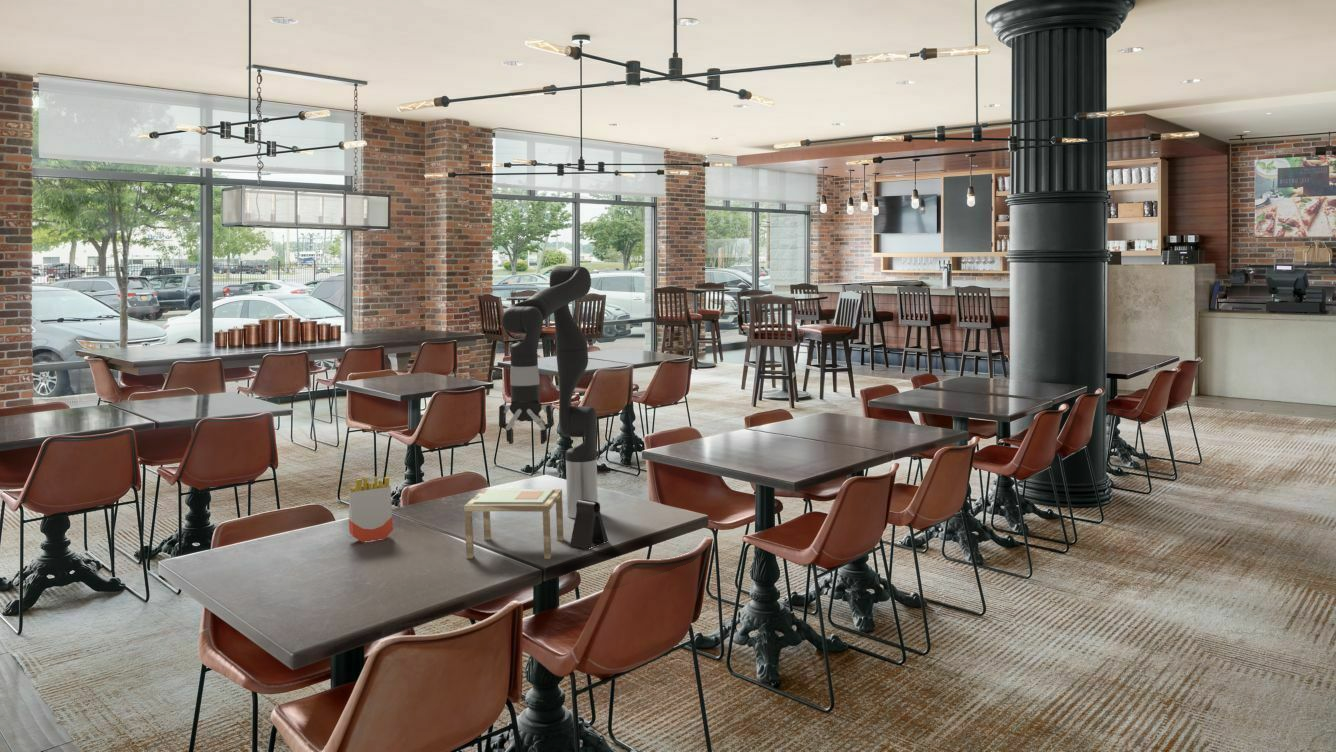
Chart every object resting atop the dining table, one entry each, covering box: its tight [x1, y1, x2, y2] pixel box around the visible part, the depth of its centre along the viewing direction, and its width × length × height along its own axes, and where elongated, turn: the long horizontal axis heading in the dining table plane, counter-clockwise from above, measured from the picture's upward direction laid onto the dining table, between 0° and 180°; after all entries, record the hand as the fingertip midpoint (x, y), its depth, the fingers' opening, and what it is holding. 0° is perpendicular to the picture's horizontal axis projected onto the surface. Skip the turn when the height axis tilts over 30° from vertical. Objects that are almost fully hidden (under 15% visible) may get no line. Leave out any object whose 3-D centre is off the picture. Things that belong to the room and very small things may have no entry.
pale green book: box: [474, 488, 553, 504], centre depth 251 cm, size 14×18×2 cm
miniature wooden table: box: [463, 488, 564, 560], centre depth 252 cm, size 18×22×14 cm
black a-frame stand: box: [569, 500, 609, 550], centre depth 254 cm, size 9×6×12 cm, turn 144°
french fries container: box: [348, 476, 394, 543], centre depth 262 cm, size 5×11×18 cm, turn 121°
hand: (527, 443), depth 249 cm, fingers open, 8 cm apart
